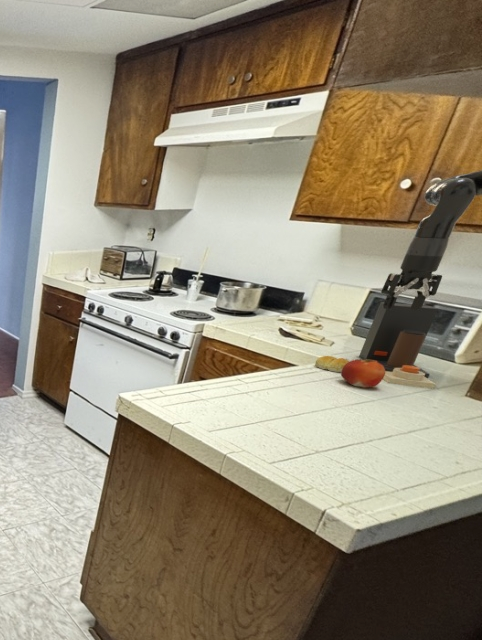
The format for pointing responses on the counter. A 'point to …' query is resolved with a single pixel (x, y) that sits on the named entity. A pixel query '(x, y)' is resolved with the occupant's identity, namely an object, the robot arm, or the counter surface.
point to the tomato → (363, 373)
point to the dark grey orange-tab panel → (394, 330)
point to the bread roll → (331, 363)
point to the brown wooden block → (406, 348)
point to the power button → (410, 369)
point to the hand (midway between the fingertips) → (401, 309)
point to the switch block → (408, 378)
